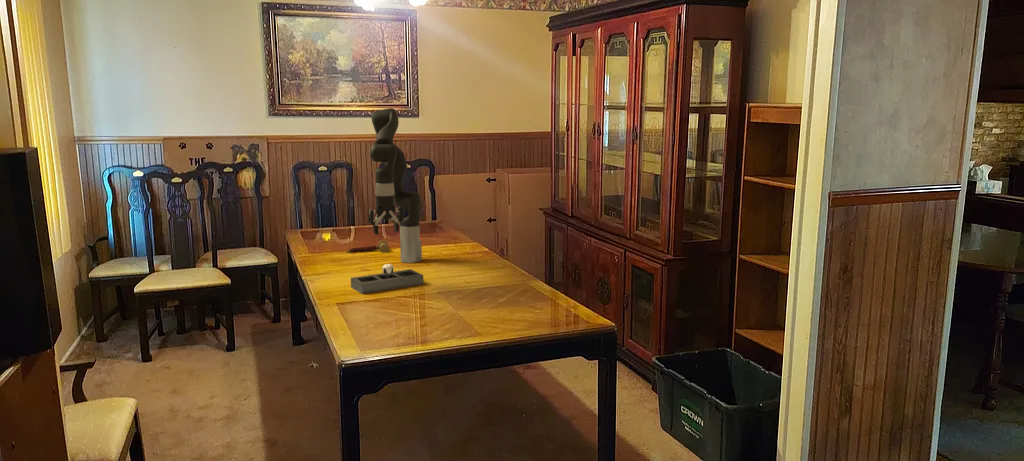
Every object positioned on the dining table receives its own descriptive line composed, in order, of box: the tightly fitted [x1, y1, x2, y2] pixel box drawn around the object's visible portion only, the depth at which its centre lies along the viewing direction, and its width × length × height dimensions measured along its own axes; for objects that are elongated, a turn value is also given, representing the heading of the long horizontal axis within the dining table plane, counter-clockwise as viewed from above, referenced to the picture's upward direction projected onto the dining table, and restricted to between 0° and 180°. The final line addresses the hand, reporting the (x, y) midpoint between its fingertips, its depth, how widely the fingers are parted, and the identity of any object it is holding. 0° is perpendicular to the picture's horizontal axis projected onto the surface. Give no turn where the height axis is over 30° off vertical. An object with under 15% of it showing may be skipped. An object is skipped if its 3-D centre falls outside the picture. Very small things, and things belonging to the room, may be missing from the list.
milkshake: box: [381, 263, 394, 279], centre depth 288 cm, size 4×5×10 cm
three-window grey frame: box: [350, 268, 424, 295], centre depth 289 cm, size 27×12×4 cm, turn 124°
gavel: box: [345, 240, 390, 254], centre depth 354 cm, size 21×5×10 cm
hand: (386, 233), depth 286 cm, fingers open, 8 cm apart
